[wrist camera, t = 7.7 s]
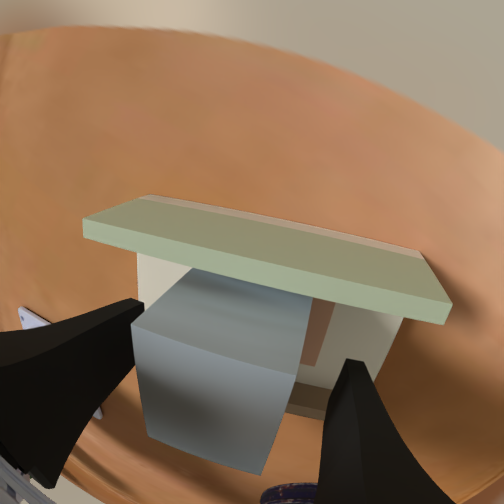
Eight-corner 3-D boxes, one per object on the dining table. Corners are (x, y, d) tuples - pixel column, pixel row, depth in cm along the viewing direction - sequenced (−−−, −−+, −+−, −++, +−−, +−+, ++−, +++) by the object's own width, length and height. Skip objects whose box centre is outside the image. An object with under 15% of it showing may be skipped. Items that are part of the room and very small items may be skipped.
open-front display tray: (361, 391, 14) (359, 460, 10) (150, 333, 17) (105, 382, 13) (418, 251, 11) (452, 304, 7) (149, 193, 14) (82, 218, 10)
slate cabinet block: (292, 365, 13) (260, 475, 8) (209, 342, 14) (148, 436, 9) (318, 267, 12) (296, 375, 6) (218, 244, 12) (130, 324, 7)
